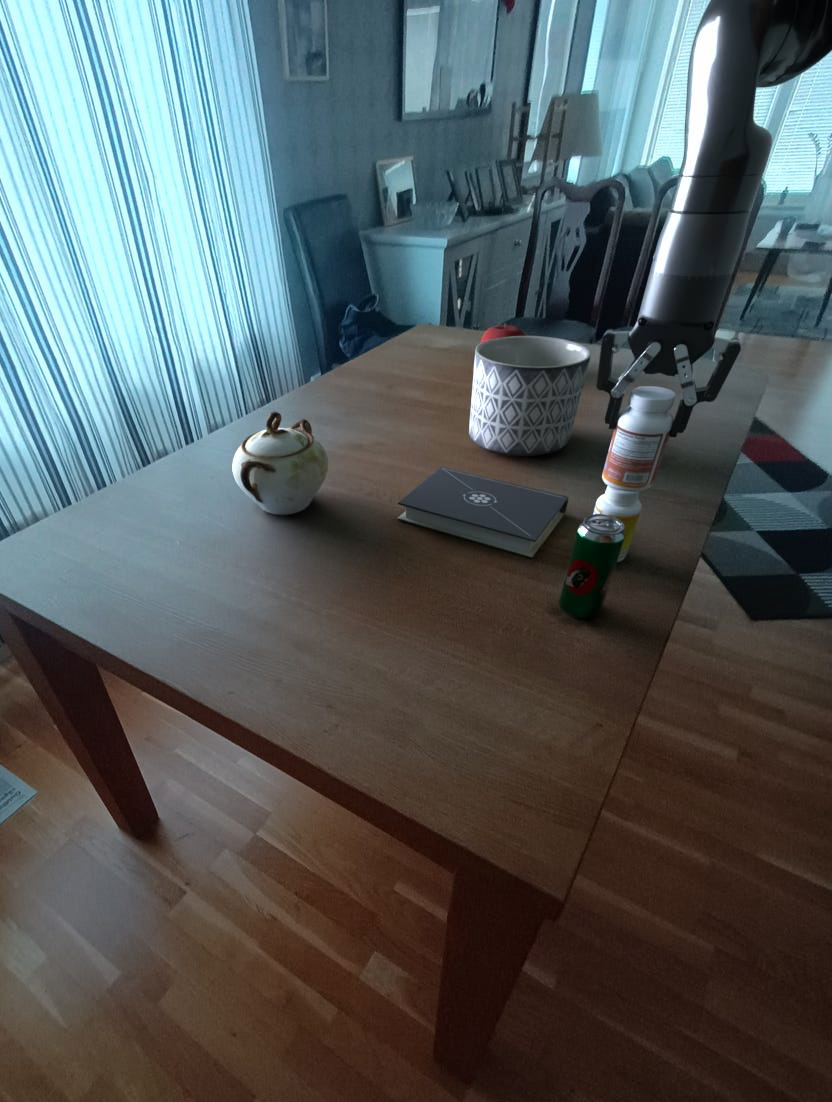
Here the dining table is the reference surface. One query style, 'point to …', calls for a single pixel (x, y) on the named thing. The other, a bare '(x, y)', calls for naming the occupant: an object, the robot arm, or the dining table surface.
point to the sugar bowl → (281, 466)
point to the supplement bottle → (621, 512)
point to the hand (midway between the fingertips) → (642, 430)
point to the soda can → (591, 565)
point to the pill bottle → (639, 440)
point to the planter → (526, 393)
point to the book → (484, 510)
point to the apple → (501, 332)
